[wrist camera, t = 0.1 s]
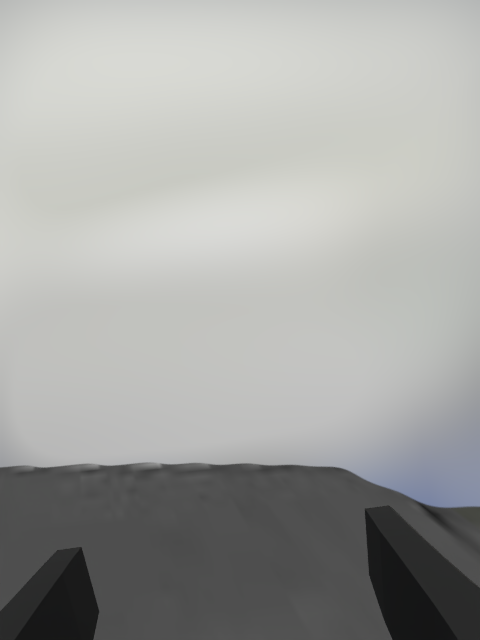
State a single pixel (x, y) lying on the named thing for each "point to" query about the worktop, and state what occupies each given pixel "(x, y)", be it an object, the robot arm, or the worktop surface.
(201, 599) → the worktop surface
